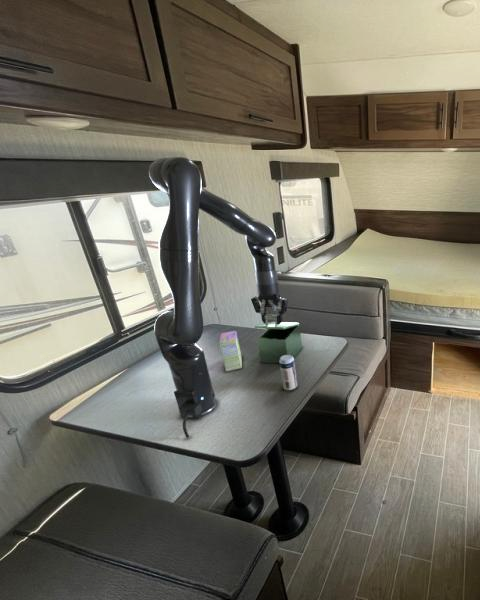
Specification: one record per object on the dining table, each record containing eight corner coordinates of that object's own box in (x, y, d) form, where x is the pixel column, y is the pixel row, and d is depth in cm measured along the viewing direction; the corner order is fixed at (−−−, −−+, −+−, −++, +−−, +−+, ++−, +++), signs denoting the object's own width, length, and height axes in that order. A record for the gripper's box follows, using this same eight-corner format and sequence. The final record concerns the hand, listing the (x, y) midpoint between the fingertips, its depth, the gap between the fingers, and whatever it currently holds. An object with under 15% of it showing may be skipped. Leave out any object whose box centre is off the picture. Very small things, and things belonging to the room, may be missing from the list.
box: (226, 358, 131) (220, 333, 127) (241, 355, 133) (236, 330, 129) (225, 372, 122) (219, 344, 118) (241, 368, 124) (236, 341, 120)
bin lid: (283, 329, 122) (283, 315, 121) (254, 327, 123) (254, 314, 123) (299, 324, 136) (299, 312, 136) (273, 323, 137) (273, 311, 137)
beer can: (300, 387, 113) (296, 357, 109) (287, 393, 110) (282, 362, 106) (293, 381, 117) (289, 352, 112) (281, 386, 113) (276, 357, 109)
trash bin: (288, 364, 127) (285, 339, 124) (261, 362, 129) (256, 338, 125) (302, 347, 140) (299, 324, 136) (276, 345, 141) (273, 323, 137)
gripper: (243, 283, 117) (250, 326, 122) (280, 284, 115) (286, 328, 121) (254, 277, 124) (260, 318, 129) (289, 279, 122) (294, 320, 128)
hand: (272, 322), depth 125 cm, fingers closed on bin lid, 5 cm apart
